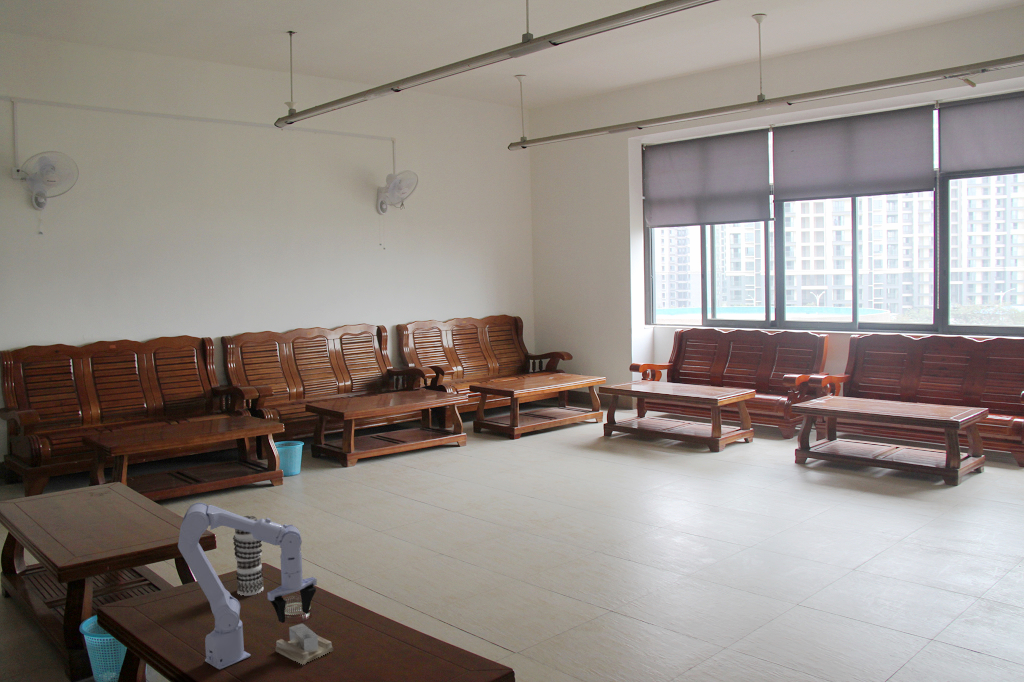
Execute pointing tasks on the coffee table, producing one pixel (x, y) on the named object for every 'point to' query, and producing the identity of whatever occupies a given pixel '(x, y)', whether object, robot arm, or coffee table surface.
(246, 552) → the decorative candle
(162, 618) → the coffee table surface
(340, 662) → the coffee table surface
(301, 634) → the grey rectangular block
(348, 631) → the coffee table surface
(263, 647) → the coffee table surface
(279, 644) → the cradle
